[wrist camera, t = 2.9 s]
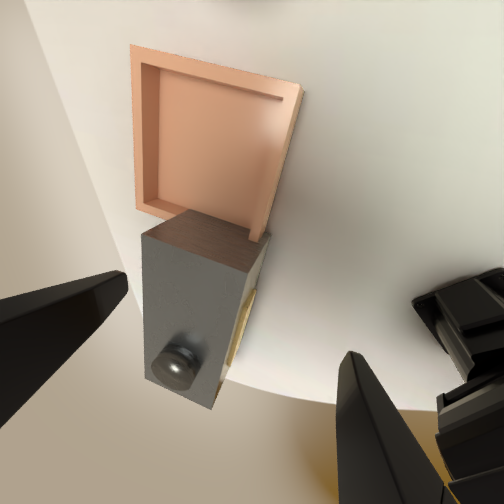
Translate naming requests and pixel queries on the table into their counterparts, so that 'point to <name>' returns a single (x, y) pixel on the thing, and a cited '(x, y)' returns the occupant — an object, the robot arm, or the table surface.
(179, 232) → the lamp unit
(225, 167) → the dish
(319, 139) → the table surface
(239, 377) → the table surface
